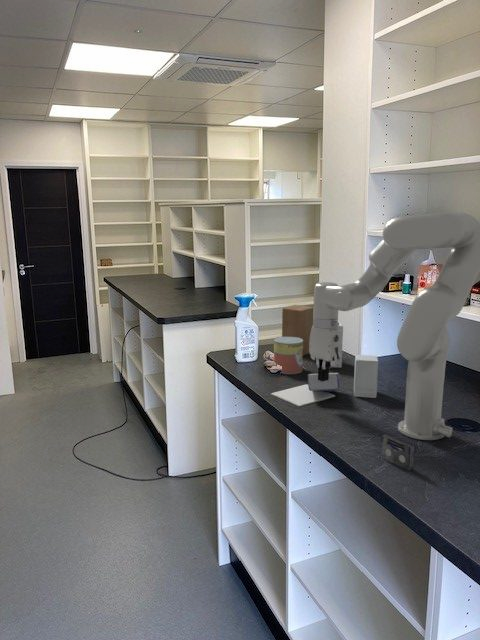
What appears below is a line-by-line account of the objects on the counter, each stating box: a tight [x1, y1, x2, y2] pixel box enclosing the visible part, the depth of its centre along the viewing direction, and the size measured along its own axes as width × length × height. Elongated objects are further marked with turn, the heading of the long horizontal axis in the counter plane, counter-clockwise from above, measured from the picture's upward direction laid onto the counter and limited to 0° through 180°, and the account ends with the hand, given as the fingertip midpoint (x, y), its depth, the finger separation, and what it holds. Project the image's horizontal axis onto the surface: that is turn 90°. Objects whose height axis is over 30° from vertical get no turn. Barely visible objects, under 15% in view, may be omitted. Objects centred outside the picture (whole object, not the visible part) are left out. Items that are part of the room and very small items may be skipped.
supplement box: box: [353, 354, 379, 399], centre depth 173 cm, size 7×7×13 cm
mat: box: [270, 383, 336, 408], centre depth 172 cm, size 14×16×1 cm
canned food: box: [273, 336, 304, 375], centre depth 200 cm, size 11×11×12 cm
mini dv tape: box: [380, 434, 415, 472], centre depth 125 cm, size 8×2×6 cm, turn 35°
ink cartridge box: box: [307, 372, 341, 391], centre depth 172 cm, size 10×6×14 cm
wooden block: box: [281, 304, 314, 356], centre depth 224 cm, size 10×10×20 cm
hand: (323, 380), depth 162 cm, fingers closed
